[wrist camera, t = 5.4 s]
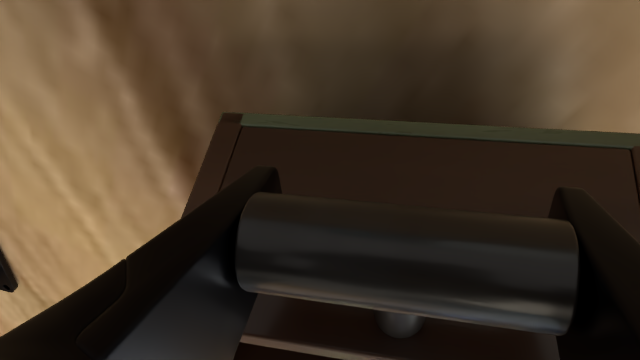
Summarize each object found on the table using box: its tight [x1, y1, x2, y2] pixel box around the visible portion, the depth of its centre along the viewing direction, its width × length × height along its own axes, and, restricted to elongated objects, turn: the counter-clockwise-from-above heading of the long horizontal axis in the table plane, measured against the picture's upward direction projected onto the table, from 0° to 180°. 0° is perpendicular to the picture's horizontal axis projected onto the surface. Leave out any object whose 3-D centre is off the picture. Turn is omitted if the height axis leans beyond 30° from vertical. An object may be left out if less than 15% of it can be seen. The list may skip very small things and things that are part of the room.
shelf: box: [181, 112, 640, 360], centre depth 14 cm, size 14×12×6 cm
